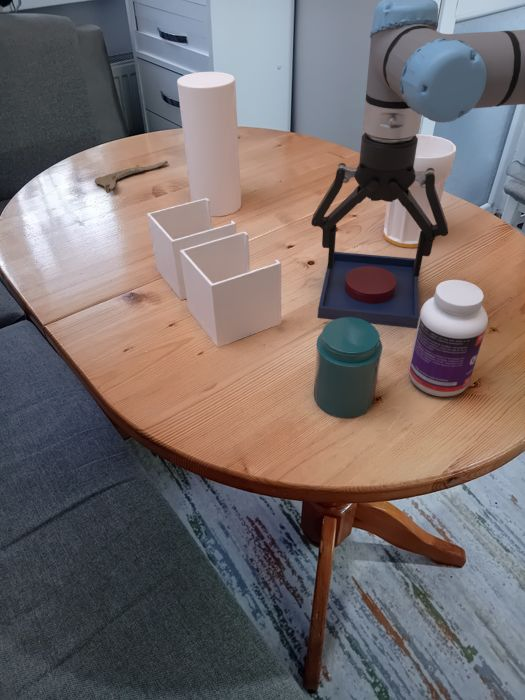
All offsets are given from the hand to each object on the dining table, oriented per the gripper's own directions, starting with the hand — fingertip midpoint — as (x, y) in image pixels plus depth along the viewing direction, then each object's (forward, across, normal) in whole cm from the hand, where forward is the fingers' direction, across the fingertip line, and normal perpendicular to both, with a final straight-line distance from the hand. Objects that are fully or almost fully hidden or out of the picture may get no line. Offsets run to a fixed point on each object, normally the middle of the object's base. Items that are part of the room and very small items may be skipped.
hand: (372, 268), depth 87 cm
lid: (+3, 0, 0) cm, 3 cm away
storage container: (+5, -25, -5) cm, 26 cm away
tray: (+5, 0, 0) cm, 5 cm away
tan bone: (+4, -56, +37) cm, 67 cm away
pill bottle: (+5, +10, -19) cm, 22 cm away
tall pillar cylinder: (+5, -34, +27) cm, 44 cm away
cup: (+5, +6, +20) cm, 21 cm away
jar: (+5, -2, -25) cm, 25 cm away
